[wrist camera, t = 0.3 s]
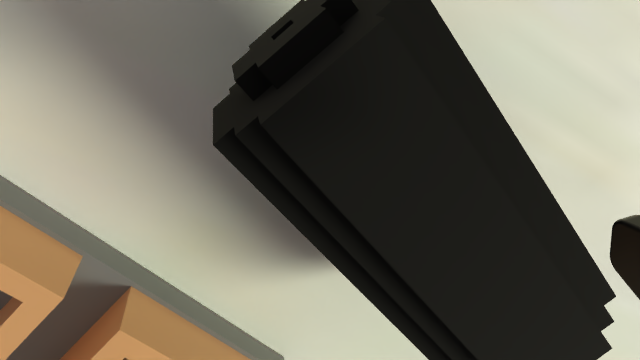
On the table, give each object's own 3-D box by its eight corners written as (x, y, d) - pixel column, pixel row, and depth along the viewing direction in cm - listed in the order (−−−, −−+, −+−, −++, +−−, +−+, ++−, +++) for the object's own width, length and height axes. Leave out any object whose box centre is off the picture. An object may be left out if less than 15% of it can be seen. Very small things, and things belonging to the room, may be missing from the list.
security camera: (427, 311, 28) (527, 470, 19) (200, 66, 21) (190, 143, 12) (524, 237, 28) (675, 366, 19) (327, -46, 20) (419, -57, 11)
